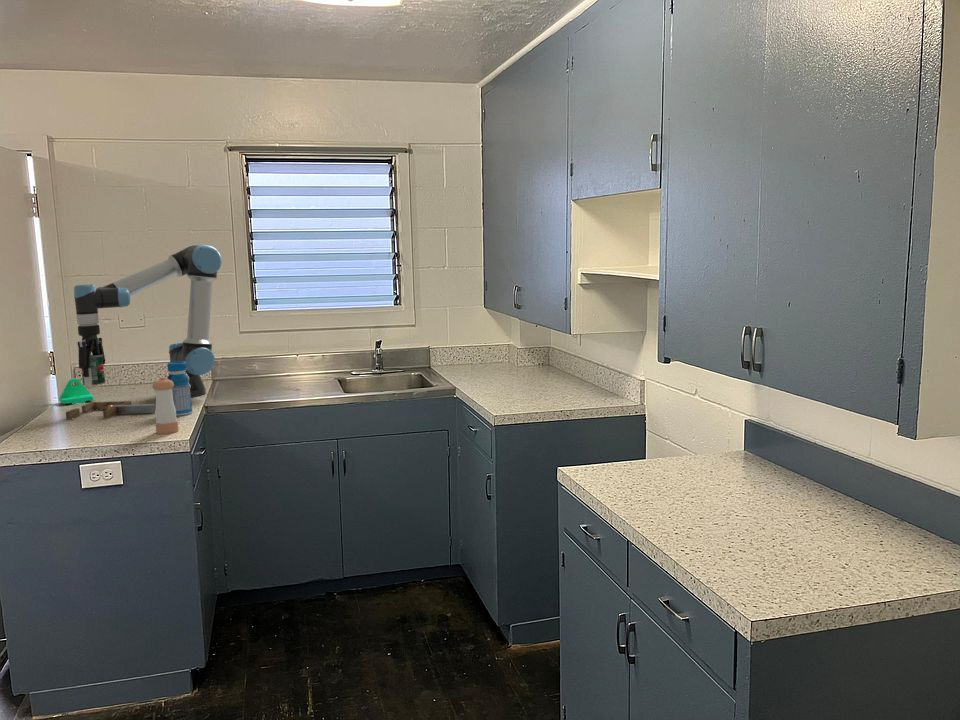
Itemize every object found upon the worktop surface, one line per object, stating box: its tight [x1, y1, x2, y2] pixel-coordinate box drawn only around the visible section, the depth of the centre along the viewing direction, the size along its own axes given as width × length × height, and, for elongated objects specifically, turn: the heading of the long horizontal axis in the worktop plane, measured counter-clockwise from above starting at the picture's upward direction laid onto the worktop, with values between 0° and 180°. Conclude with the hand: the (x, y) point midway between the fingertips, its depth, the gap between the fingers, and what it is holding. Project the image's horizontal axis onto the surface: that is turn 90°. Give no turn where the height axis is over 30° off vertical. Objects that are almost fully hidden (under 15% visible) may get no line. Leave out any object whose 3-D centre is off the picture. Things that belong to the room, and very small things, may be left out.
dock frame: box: [65, 400, 133, 420], centre depth 312 cm, size 16×20×3 cm
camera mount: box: [59, 377, 95, 405], centre depth 337 cm, size 12×8×10 cm, turn 128°
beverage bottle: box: [166, 361, 193, 417], centre depth 305 cm, size 8×8×20 cm
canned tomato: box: [81, 354, 106, 386], centre depth 309 cm, size 8×8×11 cm
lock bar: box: [107, 403, 156, 415], centre depth 310 cm, size 18×3×3 cm, turn 88°
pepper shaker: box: [151, 377, 180, 435], centre depth 276 cm, size 7×7×19 cm
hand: (94, 383), depth 309 cm, fingers closed on canned tomato, 8 cm apart
